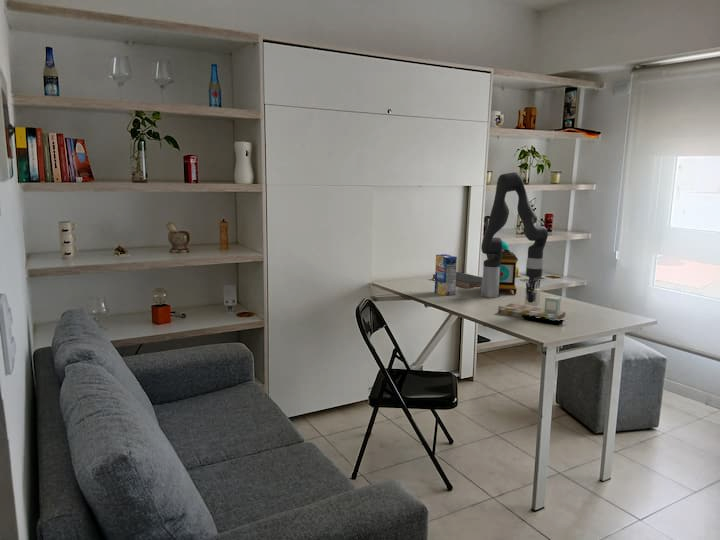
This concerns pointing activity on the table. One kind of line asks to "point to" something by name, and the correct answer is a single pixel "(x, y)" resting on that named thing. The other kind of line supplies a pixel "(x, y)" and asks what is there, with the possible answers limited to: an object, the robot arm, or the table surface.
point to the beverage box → (445, 274)
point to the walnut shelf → (527, 311)
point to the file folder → (467, 280)
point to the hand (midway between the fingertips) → (532, 301)
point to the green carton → (552, 305)
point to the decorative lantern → (507, 269)
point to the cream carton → (535, 298)
